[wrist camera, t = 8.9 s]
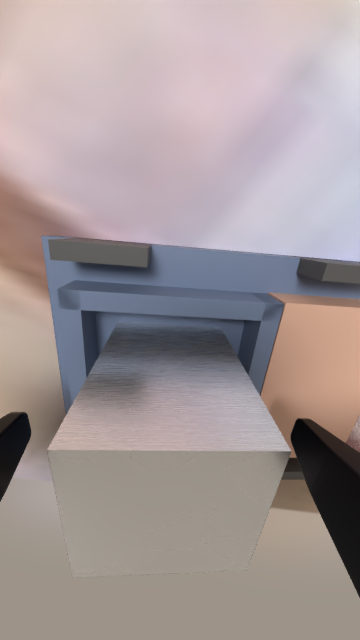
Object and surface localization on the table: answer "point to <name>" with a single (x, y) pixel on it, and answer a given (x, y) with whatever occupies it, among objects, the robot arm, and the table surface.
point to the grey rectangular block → (165, 457)
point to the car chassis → (219, 318)
